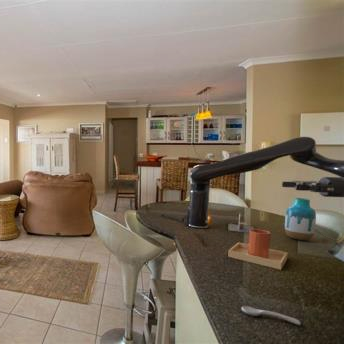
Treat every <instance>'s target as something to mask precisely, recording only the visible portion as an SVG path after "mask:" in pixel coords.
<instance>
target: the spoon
mask: <svg viewBox="0 0 344 344" xmlns="http://www.w3.org/2000/svg"><path fill="white" fill-rule="evenodd" d="M241 311H242V312H243V313H245V314H247V315H249V316H252V317H257V316H260V315H267V316H268V315H269V316H272V317H274V318H275V317H276V318H279V319H282V320H285V321H287V322H289V323H292V324H294V325H296V326H301V325H302V324H301V321H300V320H298V318H294V317H292V316H288V315H286V314H282V313H279V312H275V311H270V310H265V309H257V308H255V307H253V306H248V305H242V306H241Z"/></svg>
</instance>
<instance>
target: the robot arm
mask: <svg viewBox="0 0 344 344" xmlns="http://www.w3.org/2000/svg"><path fill="white" fill-rule="evenodd" d="M288 156H289V158H290V159H291V160H292V161H293V162H296V163H299V164H302V165H305V166H308V167H311V168H314V169H318V170H321V171H324V172H327V173H329V174H333V175H335V176H323V177H321V178H320V179H319V180H318V181H316V180H291V181H282V183H281V187H282V188H293V189H295V191H303V192H304V191H306V192H310V193H319V194H320V196H322V197H326V198H344V159H334V158H329V157H326V156H324V155H322V154H320V153H319V152H317V142H316V139H314V138H312V137H310V136H298V137H294V138H290V139H288V140H285V141H282V142H279V143H277V144H273V145H271V146H266V147H263V148H260V149H256V150H252V151H248V152H244V153H240V154H236V155H234V156H230V157H228V158H225V159H223V160H219V161H218V162H214V163H213V162H212V163H207V164H197V165H194V166H193V167H192V168H191V170H190V173H189V177H190V186H189V197H188V201H189V202H188V207H187V208H186V210H187V211H186V214H185V215H184V216H182V217H181V219H179V218H177V217H174V216H169V215H167V214H166V213H162V214H161V215H160V217H163V216H164V217H166V218H168V219H172V220H175V221H178V222H181V223H182V222H184V221H186V226H187V227H190V228H195V229H208V223H209V206H210V190H211V180H214V179H217V178H221V177H226V176H233V175H239V174H245V173H250V172H253V171H254V172H255V171H257V170H260V169H262V168H264V167H266V166H267V165H269V164H270V163H272V162H274V161H276V160H277V159H278V160H279V159H280V158H284V157H288Z"/></svg>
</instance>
